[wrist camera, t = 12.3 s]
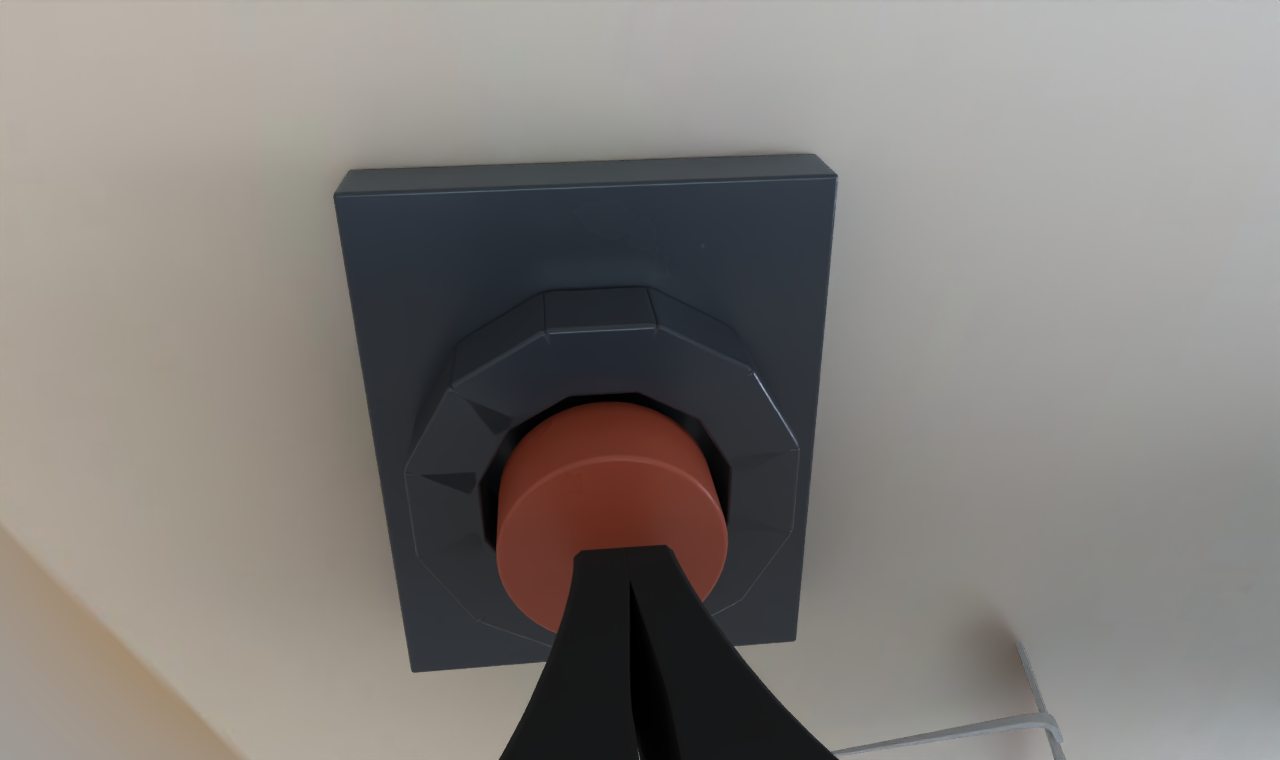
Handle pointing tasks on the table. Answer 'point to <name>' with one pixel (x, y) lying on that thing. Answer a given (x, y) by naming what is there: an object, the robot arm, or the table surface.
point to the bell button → (603, 501)
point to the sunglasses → (984, 724)
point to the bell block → (586, 360)
